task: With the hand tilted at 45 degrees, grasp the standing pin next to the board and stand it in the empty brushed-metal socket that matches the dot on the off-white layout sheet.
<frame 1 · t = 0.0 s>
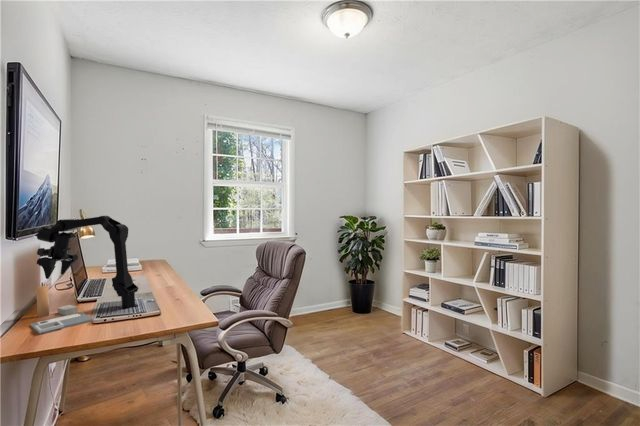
hand: (54, 276, 162), 15 cm above the table, tool pointing down, fingers open, 9 cm apart
pin: (43, 315, 151), on the table
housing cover: (67, 312, 155), on the table
board: (62, 323, 141), on the table
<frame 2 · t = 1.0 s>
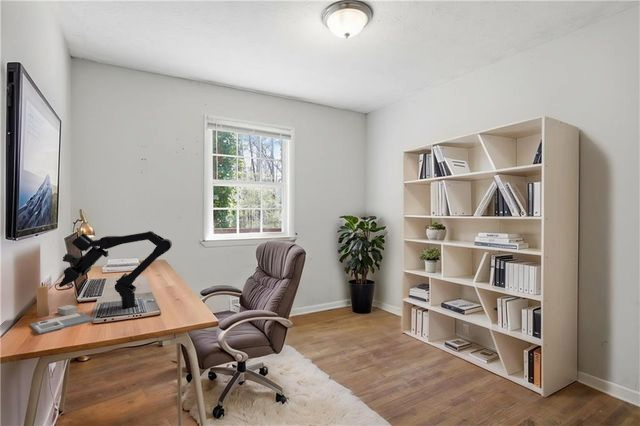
hand: (63, 284, 154), 13 cm above the table, tool tilted 45°, fingers open, 9 cm apart
nothing on the table moved.
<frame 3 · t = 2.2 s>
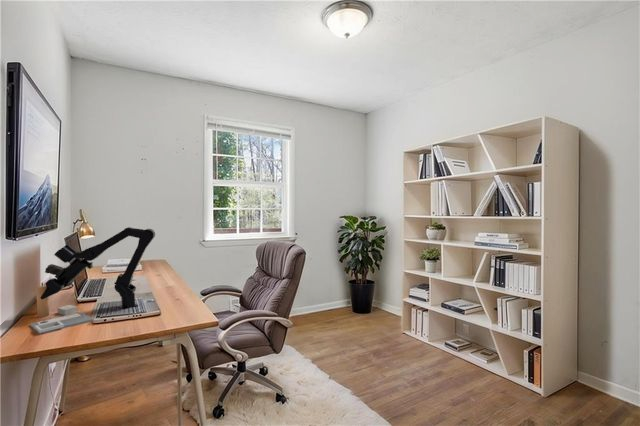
hand: (45, 296, 151), 9 cm above the table, tool tilted 45°, fingers open, 9 cm apart
nothing on the table moved.
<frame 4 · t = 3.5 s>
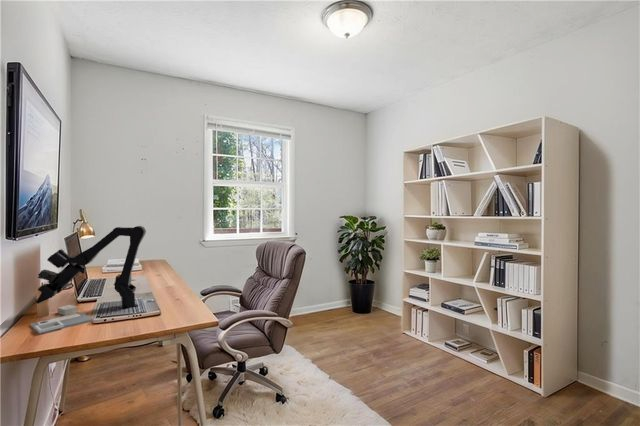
hand: (38, 301, 150), 7 cm above the table, tool tilted 45°, fingers closed on pin, 4 cm apart
pin: (43, 315, 151), on the table, touching gripper
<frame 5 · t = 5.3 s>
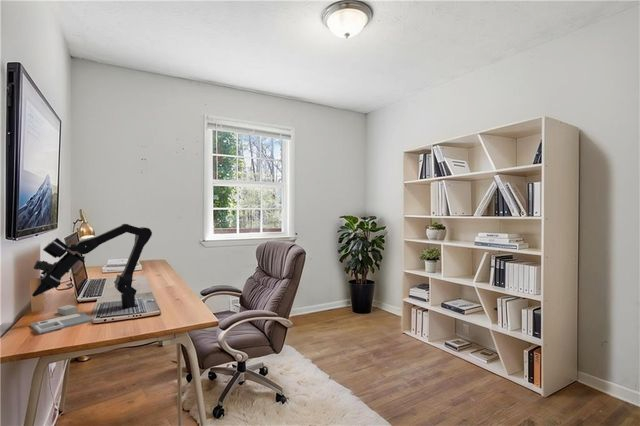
hand: (32, 294, 139), 12 cm above the table, tool tilted 45°, fingers closed on pin, 4 cm apart
pin: (37, 309, 140), point 6 cm above the table, touching gripper
when the fingers open (8 cm above the table, at t = 7.1 s): pin drops 1 cm, resting on board.
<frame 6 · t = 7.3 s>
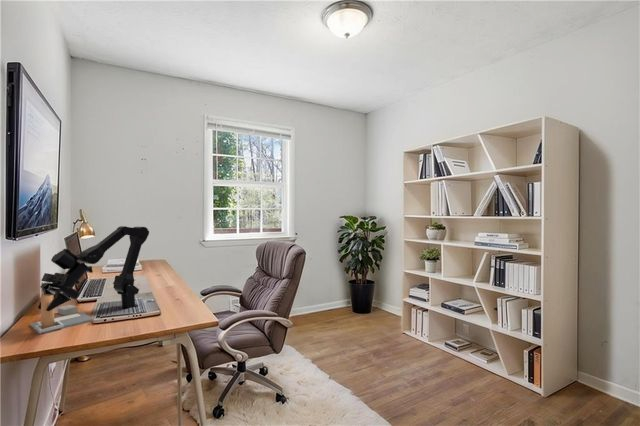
hand: (42, 309, 132), 9 cm above the table, tool tilted 45°, fingers open, 6 cm apart
pin: (48, 327, 133), point 1 cm above the table, touching board
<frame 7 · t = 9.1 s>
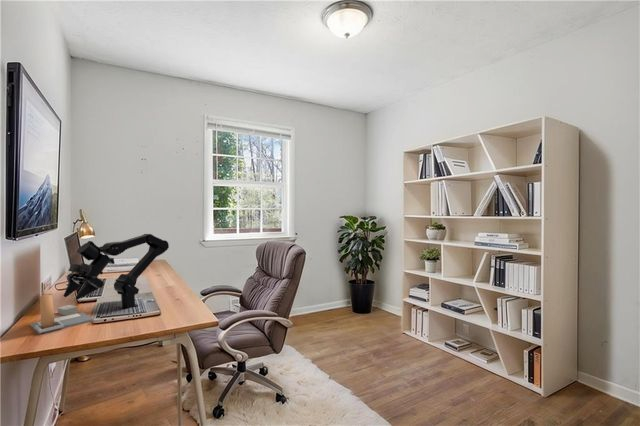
hand: (70, 297, 140), 11 cm above the table, tool tilted 45°, fingers open, 9 cm apart
nothing on the table moved.
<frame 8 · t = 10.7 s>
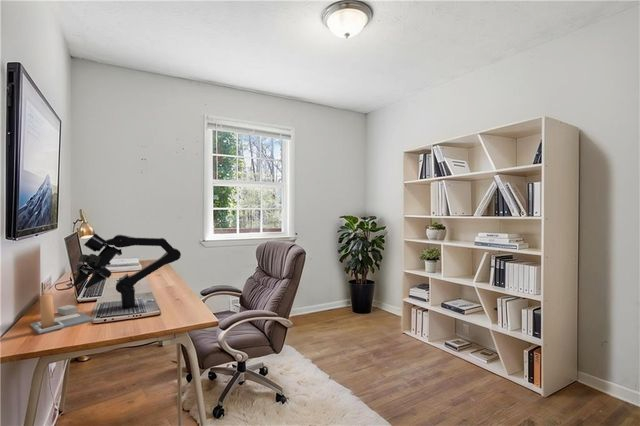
hand: (79, 286, 147), 14 cm above the table, tool tilted 45°, fingers open, 9 cm apart
nothing on the table moved.
at the end: pin 0.5 cm from the target spot on the board, point 0.8 cm above the board's base; pin tilted 0°; the gripper is holding nothing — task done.
